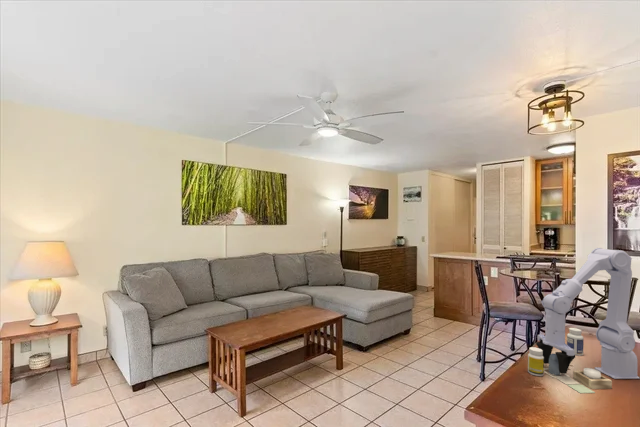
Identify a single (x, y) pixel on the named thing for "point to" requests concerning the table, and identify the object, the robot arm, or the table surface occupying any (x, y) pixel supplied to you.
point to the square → (567, 380)
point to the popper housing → (592, 381)
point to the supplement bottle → (535, 361)
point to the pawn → (553, 365)
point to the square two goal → (581, 389)
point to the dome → (592, 373)
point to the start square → (554, 376)
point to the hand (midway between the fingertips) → (554, 368)
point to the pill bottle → (575, 341)
